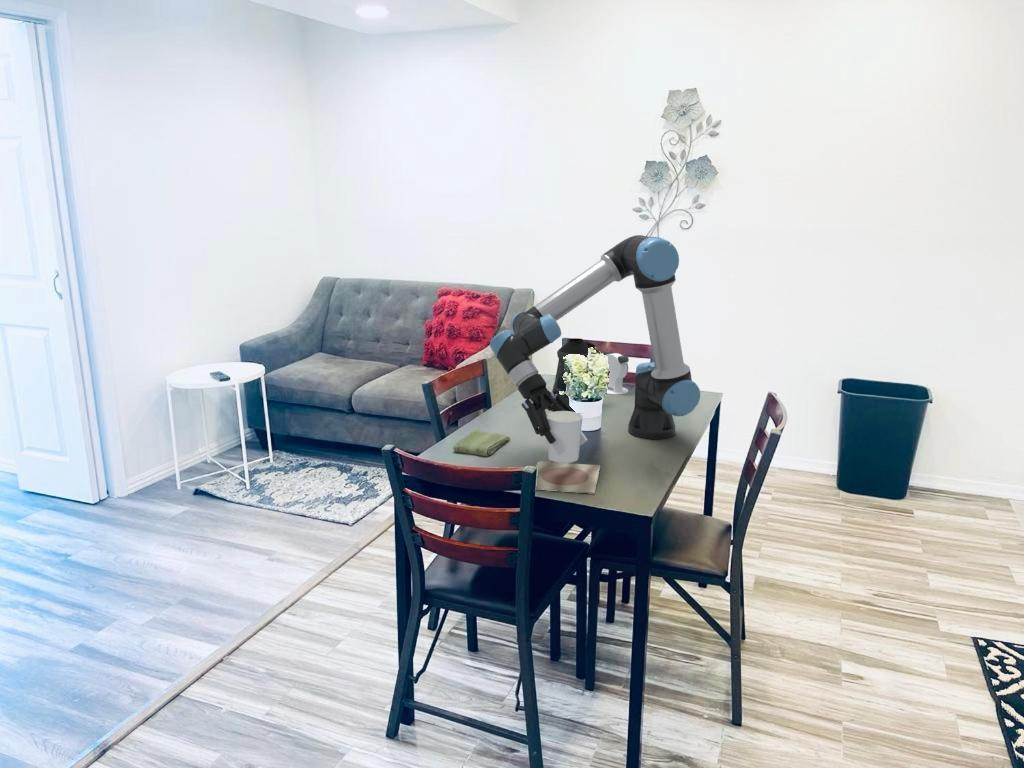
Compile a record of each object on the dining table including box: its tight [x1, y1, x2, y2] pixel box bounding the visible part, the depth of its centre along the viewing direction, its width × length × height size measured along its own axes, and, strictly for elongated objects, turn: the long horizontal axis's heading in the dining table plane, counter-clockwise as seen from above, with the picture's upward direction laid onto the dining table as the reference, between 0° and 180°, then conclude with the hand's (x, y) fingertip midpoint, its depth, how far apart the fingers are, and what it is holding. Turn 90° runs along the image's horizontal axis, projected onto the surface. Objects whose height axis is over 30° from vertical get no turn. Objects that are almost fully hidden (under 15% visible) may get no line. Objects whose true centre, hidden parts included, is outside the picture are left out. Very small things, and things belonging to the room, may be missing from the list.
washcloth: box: [453, 429, 511, 457], centre depth 234 cm, size 13×18×3 cm
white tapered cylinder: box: [546, 411, 583, 464], centre depth 205 cm, size 10×10×12 cm
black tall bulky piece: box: [551, 337, 601, 405], centre depth 272 cm, size 16×19×25 cm
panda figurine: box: [603, 350, 630, 396], centre depth 294 cm, size 12×11×15 cm
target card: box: [535, 461, 601, 495], centre depth 208 cm, size 18×20×1 cm
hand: (573, 447), depth 204 cm, fingers closed on white tapered cylinder, 9 cm apart
